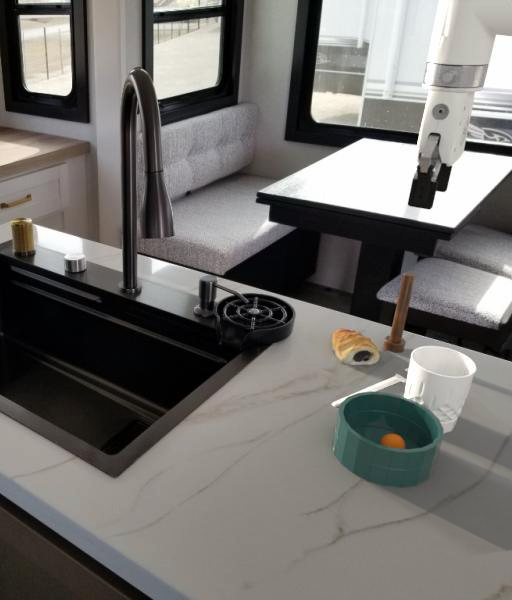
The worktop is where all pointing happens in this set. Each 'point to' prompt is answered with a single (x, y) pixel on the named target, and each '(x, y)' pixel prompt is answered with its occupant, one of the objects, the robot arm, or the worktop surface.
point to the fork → (376, 387)
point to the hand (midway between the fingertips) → (427, 198)
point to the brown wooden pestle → (400, 315)
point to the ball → (393, 441)
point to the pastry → (354, 348)
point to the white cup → (440, 382)
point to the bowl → (375, 425)
